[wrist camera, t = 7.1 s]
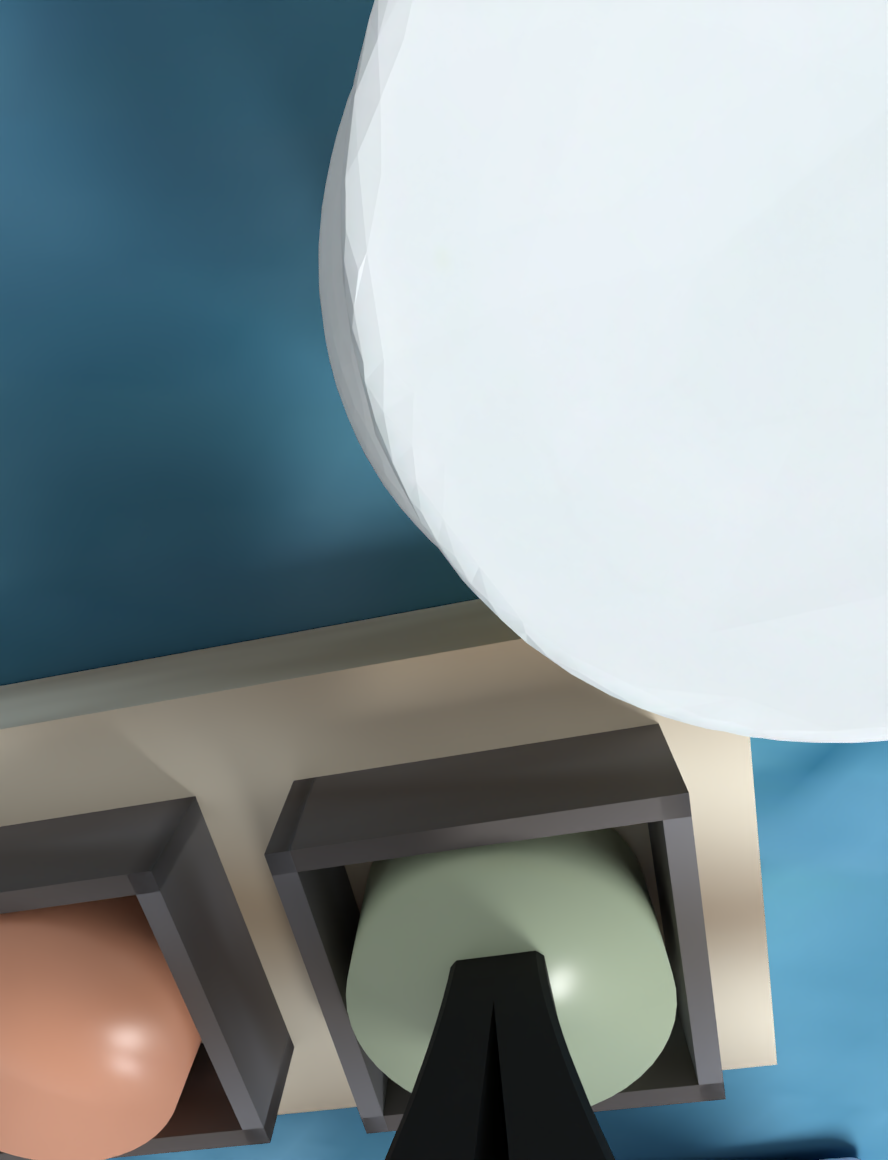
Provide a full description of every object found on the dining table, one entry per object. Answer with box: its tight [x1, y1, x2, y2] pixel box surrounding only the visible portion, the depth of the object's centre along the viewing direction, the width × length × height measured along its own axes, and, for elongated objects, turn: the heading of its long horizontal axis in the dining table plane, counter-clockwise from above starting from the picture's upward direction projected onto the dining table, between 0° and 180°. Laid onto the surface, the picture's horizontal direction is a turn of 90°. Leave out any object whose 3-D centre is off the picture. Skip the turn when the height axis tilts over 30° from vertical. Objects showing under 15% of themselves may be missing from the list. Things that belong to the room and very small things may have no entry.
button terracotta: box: [0, 895, 202, 1160], centre depth 13 cm, size 5×5×2 cm
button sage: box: [346, 828, 677, 1106], centre depth 12 cm, size 5×5×2 cm
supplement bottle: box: [319, 0, 888, 743], centre depth 7 cm, size 5×5×10 cm
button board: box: [0, 599, 777, 1160], centre depth 14 cm, size 10×25×4 cm, turn 102°
